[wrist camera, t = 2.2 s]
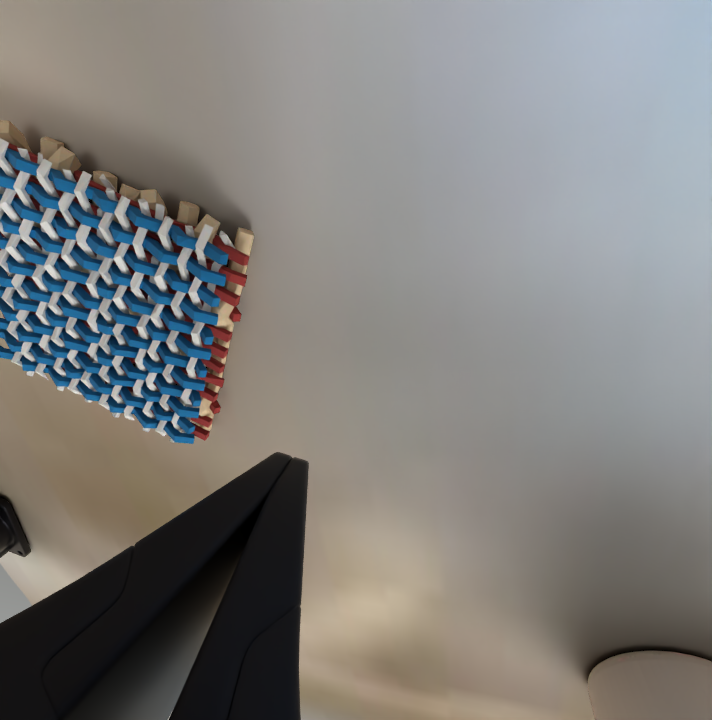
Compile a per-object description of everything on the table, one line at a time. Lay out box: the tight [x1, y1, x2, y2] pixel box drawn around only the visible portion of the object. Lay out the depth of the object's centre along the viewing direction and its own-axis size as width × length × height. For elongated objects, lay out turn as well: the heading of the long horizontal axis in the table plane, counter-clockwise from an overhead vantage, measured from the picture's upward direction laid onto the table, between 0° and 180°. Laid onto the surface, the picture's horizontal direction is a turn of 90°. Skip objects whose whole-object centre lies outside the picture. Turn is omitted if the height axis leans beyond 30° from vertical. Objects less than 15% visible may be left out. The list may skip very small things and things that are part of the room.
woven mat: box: [0, 121, 254, 444], centre depth 14 cm, size 10×11×2 cm
